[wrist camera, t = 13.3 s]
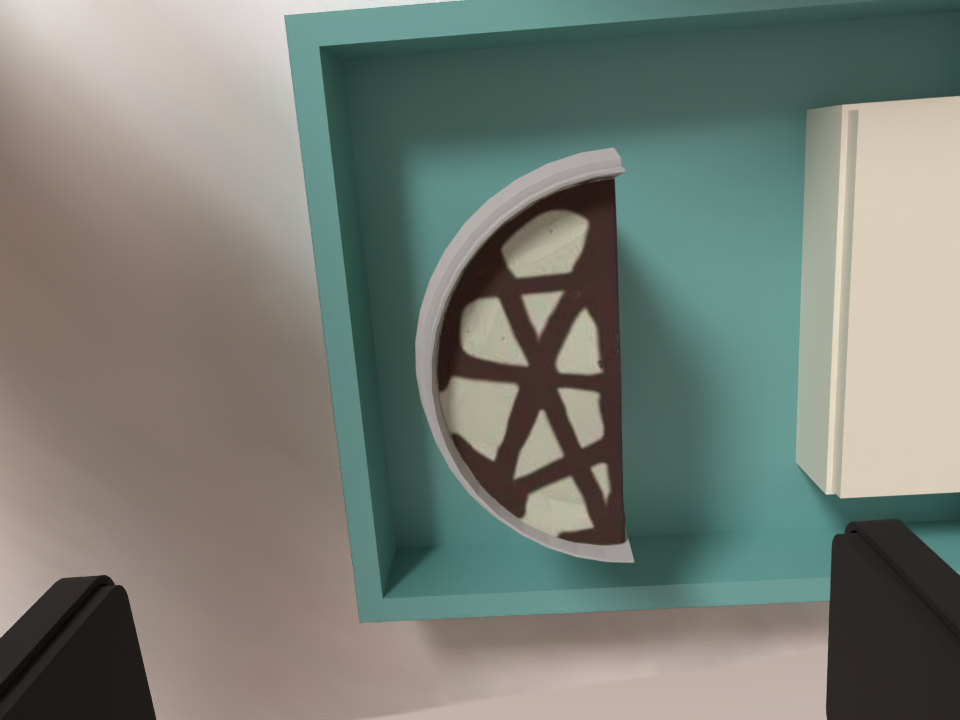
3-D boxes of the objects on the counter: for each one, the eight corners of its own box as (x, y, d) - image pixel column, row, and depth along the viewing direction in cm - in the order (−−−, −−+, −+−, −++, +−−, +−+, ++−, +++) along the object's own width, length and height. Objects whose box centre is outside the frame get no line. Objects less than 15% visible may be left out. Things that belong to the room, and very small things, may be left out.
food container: (423, 160, 30) (385, 164, 20) (585, 148, 30) (624, 146, 20) (449, 461, 33) (427, 588, 24) (596, 453, 33) (634, 579, 23)
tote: (319, 37, 30) (284, 15, 25) (1022, -20, 29) (1127, -55, 24) (379, 558, 36) (359, 622, 31) (971, 529, 34) (1047, 590, 30)
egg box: (806, 109, 29) (852, 103, 25) (972, 97, 29) (1045, 88, 25) (795, 462, 33) (834, 503, 29) (943, 454, 33) (1002, 494, 29)
